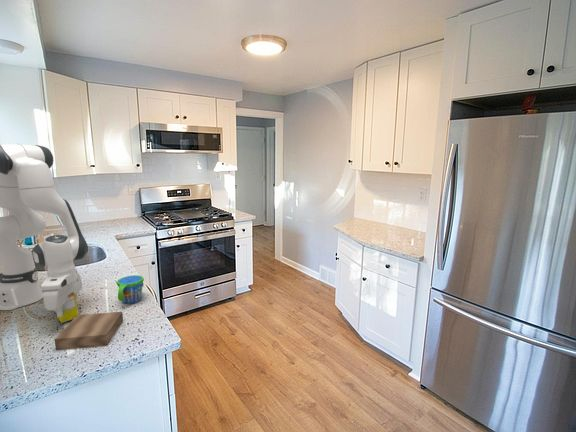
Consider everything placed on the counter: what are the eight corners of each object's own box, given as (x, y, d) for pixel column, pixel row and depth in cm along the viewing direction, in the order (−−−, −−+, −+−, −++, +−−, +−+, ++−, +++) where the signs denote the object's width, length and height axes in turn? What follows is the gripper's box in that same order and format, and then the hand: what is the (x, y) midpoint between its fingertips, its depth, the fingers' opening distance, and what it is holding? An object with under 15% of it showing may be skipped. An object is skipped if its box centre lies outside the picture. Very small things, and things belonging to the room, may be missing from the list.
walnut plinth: (56, 349, 104) (54, 339, 103) (79, 324, 119) (77, 315, 118) (107, 345, 106) (105, 334, 105) (123, 320, 122) (122, 311, 121)
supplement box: (74, 313, 127) (70, 289, 125) (79, 318, 123) (75, 293, 121) (57, 319, 122) (53, 294, 120) (61, 325, 119) (57, 298, 116)
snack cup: (134, 291, 147) (132, 272, 145) (153, 294, 145) (151, 273, 143) (109, 307, 132) (106, 285, 130) (130, 310, 130) (127, 287, 128)
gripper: (67, 267, 129) (72, 298, 131) (37, 288, 109) (43, 323, 112) (84, 266, 130) (88, 297, 132) (57, 286, 110) (62, 322, 113)
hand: (67, 309), depth 122 cm, fingers closed on supplement box, 8 cm apart
